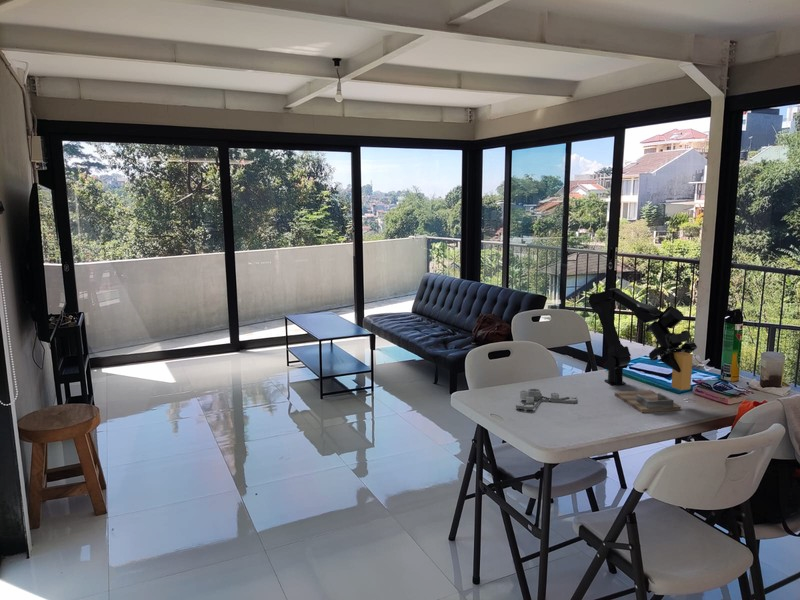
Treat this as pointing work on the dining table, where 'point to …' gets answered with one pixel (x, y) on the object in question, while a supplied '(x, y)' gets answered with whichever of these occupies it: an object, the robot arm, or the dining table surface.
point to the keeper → (647, 401)
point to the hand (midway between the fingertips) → (684, 371)
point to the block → (682, 371)
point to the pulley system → (535, 395)
